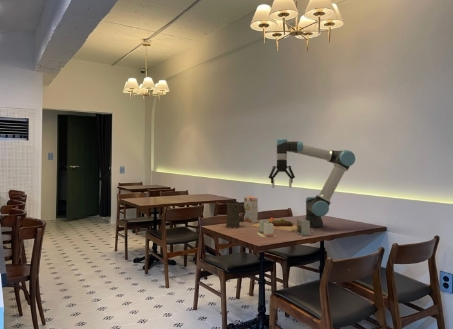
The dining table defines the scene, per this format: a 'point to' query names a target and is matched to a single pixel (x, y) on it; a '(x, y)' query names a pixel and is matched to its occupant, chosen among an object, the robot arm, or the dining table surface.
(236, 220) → the beer stein
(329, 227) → the dining table surface
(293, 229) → the cutting board
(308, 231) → the feeder chute
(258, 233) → the pin board
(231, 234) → the dining table surface
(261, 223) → the seated sleeve
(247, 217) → the cracker box
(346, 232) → the dining table surface
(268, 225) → the sleeve
